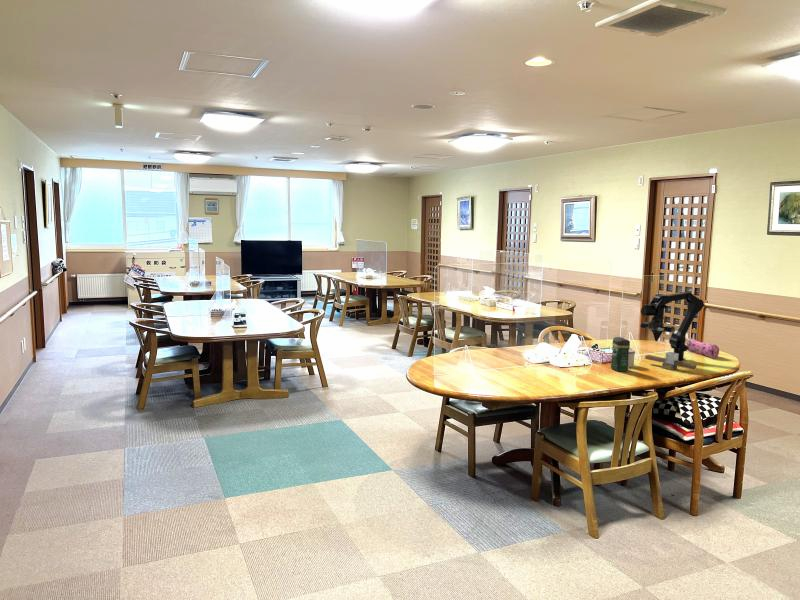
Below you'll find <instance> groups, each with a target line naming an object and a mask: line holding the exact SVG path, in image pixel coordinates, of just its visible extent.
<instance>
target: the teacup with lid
mask: <svg viewBox="0 0 800 600" xmlns="http://www.w3.org/2000/svg"><path fill="white" fill-rule="evenodd" d="M635 353H636V350H635V349H633V348H631V347H629V355H628V368H631V367H634V366H635V365H634V363H635V355H636V354H635Z"/></svg>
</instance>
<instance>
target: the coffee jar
mask: <svg viewBox="0 0 800 600" xmlns="http://www.w3.org/2000/svg"><path fill="white" fill-rule="evenodd" d="M611 346H612V352H611V353H612V355H611V359H610V368H611V369H612V370H614V371H616V372H620V373H623V372H624V373H625V372H627V371H629V367H628V355H629V348H631V347H630V346H631V342H630V340H629V339H626V338H624V337H621V336H616V337H615V336H614V337H613V339H612V345H611Z"/></svg>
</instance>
